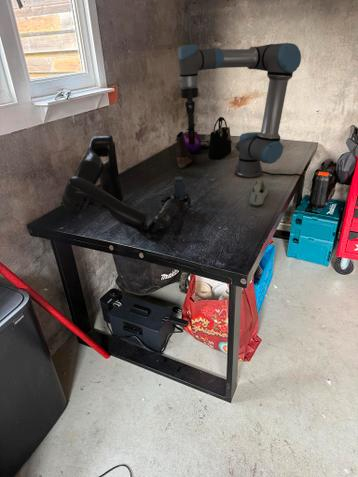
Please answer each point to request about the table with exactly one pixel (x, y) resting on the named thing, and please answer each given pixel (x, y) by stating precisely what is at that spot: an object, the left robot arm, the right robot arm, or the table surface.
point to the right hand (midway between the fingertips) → (191, 142)
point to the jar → (179, 189)
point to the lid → (188, 135)
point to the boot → (182, 151)
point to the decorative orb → (193, 147)
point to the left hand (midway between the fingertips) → (181, 195)
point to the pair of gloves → (206, 141)
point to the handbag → (220, 141)
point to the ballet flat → (258, 193)
